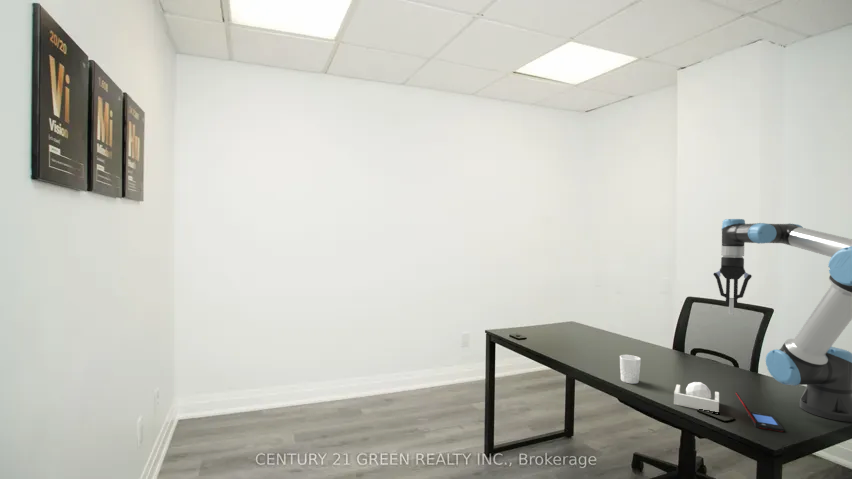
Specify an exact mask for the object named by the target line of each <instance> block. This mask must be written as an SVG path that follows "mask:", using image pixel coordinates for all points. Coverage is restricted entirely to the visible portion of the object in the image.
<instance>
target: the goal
mask: <svg viewBox="0 0 852 479" xmlns="http://www.w3.org/2000/svg"><path fill="white" fill-rule="evenodd" d="M673 405H675V406H676V405H677V406H680V407H686V408H690V409H695V410H699V409H703V410H702V411H704V410H710V411H715V412H720V411H719V410H720V392H719V391H714V399H712V398H710V399H706V398H701V397H696V396H691V395H686V393H681V384H675V389H674V391H673Z"/></svg>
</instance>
